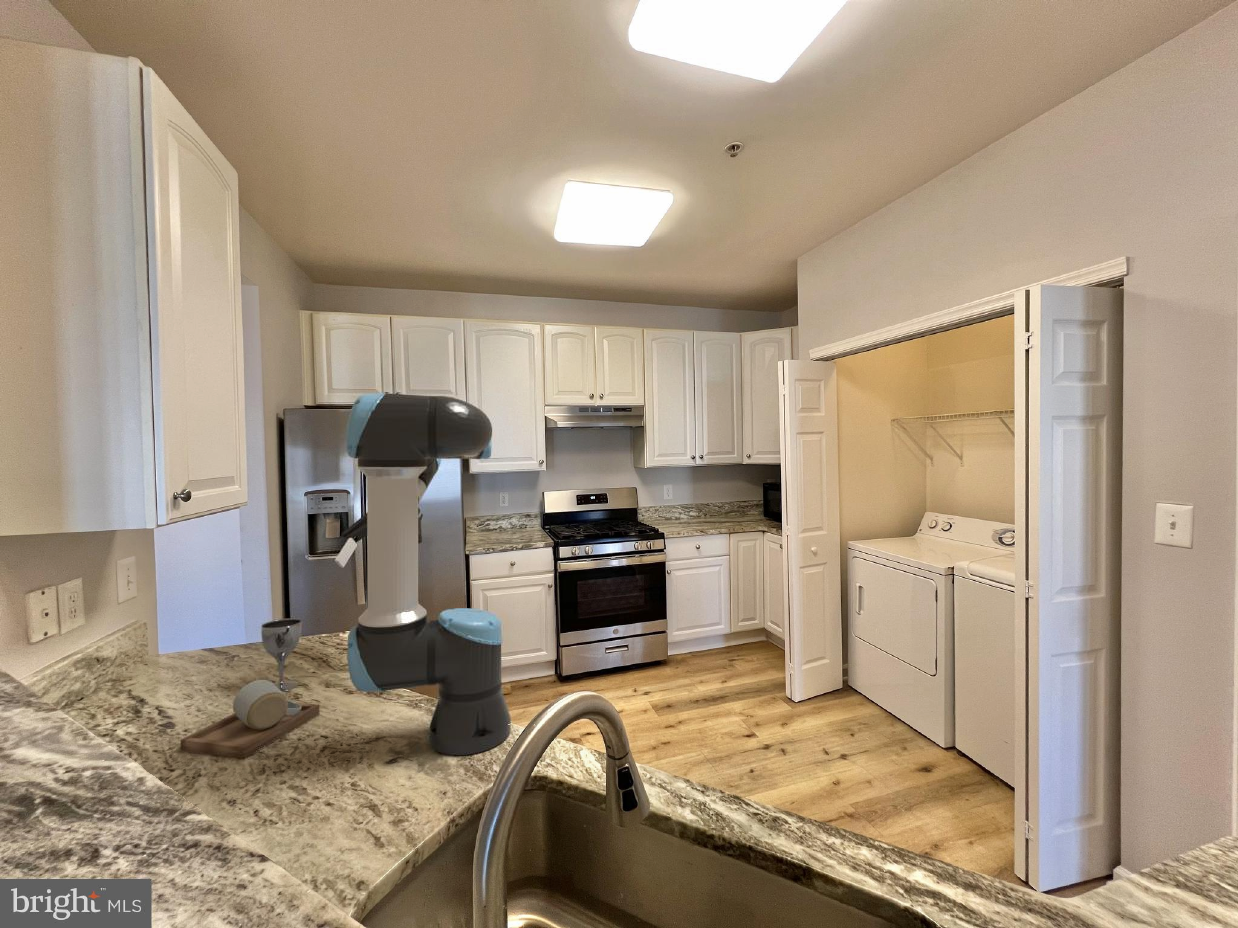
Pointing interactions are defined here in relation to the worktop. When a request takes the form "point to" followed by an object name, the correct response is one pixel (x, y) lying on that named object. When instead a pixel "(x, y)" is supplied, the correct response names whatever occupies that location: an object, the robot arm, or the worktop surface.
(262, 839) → the worktop surface
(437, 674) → the robot arm
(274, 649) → the wine glass
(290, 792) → the worktop surface
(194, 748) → the walnut tray
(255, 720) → the ceramic mug
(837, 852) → the worktop surface
